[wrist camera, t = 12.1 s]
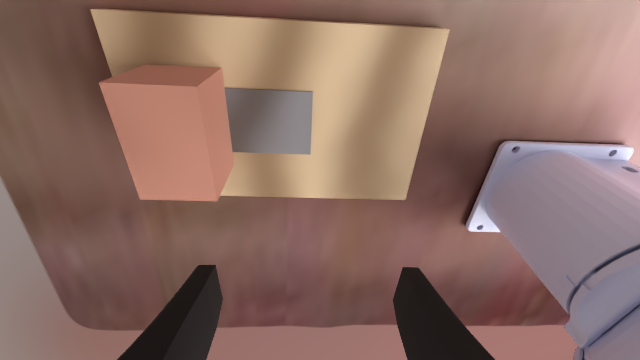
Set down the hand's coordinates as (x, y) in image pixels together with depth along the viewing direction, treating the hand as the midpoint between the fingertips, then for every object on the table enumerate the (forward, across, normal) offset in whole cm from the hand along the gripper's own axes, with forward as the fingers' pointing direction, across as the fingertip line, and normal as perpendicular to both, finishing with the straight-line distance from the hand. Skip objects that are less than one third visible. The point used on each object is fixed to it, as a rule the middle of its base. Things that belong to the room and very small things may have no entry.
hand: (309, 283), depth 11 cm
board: (+10, +2, -3) cm, 11 cm away
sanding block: (+9, +7, -3) cm, 12 cm away
